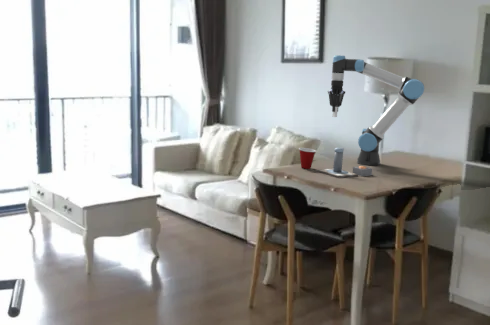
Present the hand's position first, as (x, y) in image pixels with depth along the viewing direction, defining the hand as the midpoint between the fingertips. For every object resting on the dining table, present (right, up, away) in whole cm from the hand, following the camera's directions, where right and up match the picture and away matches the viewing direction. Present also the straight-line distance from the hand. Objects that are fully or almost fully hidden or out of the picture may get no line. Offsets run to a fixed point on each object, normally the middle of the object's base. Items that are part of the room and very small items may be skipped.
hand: (334, 116), depth 356 cm
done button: (+12, -34, -28) cm, 46 cm away
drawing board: (-3, -36, -29) cm, 47 cm away
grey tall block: (-3, -35, -30) cm, 46 cm away
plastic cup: (-20, -33, -16) cm, 42 cm away
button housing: (+12, -37, -28) cm, 47 cm away
